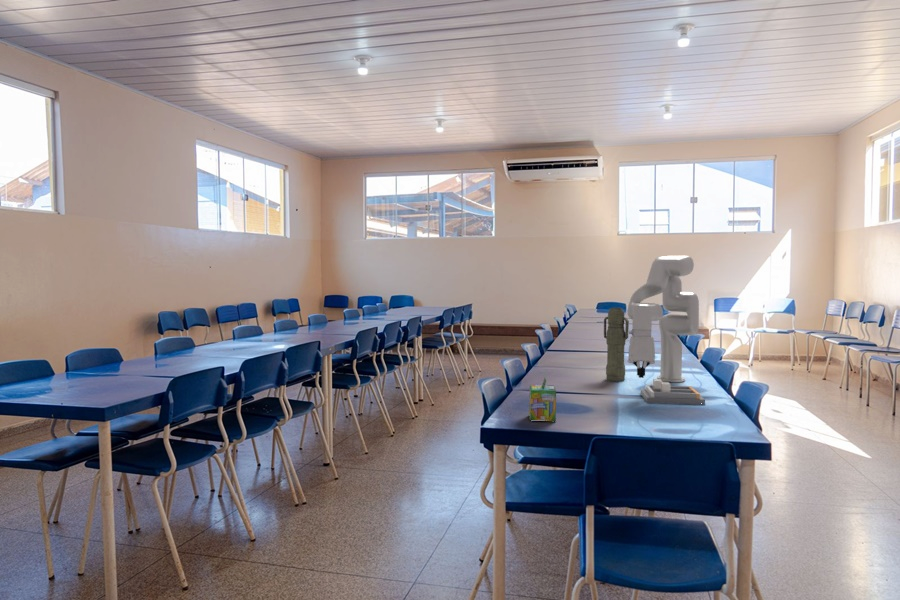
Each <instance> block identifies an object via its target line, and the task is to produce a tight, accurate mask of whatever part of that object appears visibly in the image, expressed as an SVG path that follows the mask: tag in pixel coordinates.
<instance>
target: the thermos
mask: <svg viewBox="0 0 900 600" xmlns="http://www.w3.org/2000/svg"><path fill="white" fill-rule="evenodd" d="M607 325H608V326H607ZM629 325H630V321H629V319H628V318H627V317H625V311H624V309H623V308H622V307H617V306H616V307H614V306H613V307H610V308H609V309H608V313H607V316H605V317H604V319H603V337H604V339H606V345H607V353H606V354H607V361H606V362H607V363H606V365H605V375H606V376H605V377H606V378H605V380H606V379H607V380H606V381H609V382H624V380H625V381H626V365H625V345H626V340H628V339H629V329H630V328H629Z"/></svg>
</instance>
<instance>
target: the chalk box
mask: <svg viewBox="0 0 900 600" xmlns="http://www.w3.org/2000/svg"><path fill="white" fill-rule="evenodd" d="M546 382H547V378H546V377H544V379H543V381H542V384H529V400H528V403H529V404H528V405H529V406H528V417H529V416H530V417H529V421H530V420H545V421H546V420H547V421H556V422H557V420H556V419H557V418H556V417H557V416H556V415H557V414H556V410H557V409H556V407H557V390H556V387H555V385H546Z"/></svg>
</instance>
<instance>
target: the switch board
mask: <svg viewBox="0 0 900 600" xmlns="http://www.w3.org/2000/svg"><path fill="white" fill-rule="evenodd" d="M644 387H645V389H644V388H642V389H640V396H641V397H642V398H643V399H644V401H645V402H646V404H653V403H654V404H679V405H681V404H682V405H702V404H705V405H706V399H705V397H703V396H702V395H701V394H700V393H699V392H698V391H697V390H696V389H695V388H693V386H687V385H685V386H683V385H679V386H678V385H671V387H670V392H660V389H653V384H651V385H649V384H648V385H647V384H646V385H644ZM701 403H702V404H701Z"/></svg>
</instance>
